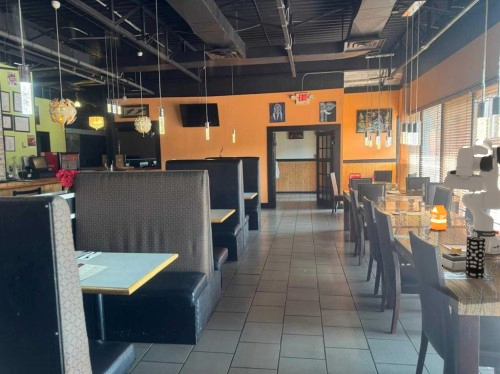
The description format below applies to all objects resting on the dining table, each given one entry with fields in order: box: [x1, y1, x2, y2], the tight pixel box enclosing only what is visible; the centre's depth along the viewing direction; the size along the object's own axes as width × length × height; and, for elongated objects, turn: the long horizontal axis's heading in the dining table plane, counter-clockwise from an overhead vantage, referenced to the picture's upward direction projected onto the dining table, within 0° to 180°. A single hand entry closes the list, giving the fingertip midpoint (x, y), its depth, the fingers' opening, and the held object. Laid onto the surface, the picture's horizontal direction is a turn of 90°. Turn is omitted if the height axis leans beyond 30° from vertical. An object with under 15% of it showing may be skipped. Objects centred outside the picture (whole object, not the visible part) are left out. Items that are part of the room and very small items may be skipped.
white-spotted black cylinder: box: [465, 236, 486, 279], centre depth 197 cm, size 8×8×20 cm
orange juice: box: [430, 204, 447, 231], centre depth 320 cm, size 8×9×20 cm
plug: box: [450, 246, 463, 254], centre depth 229 cm, size 4×4×7 cm
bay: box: [440, 252, 466, 272], centre depth 215 cm, size 18×14×7 cm
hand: (461, 196), depth 218 cm, fingers open, 8 cm apart
